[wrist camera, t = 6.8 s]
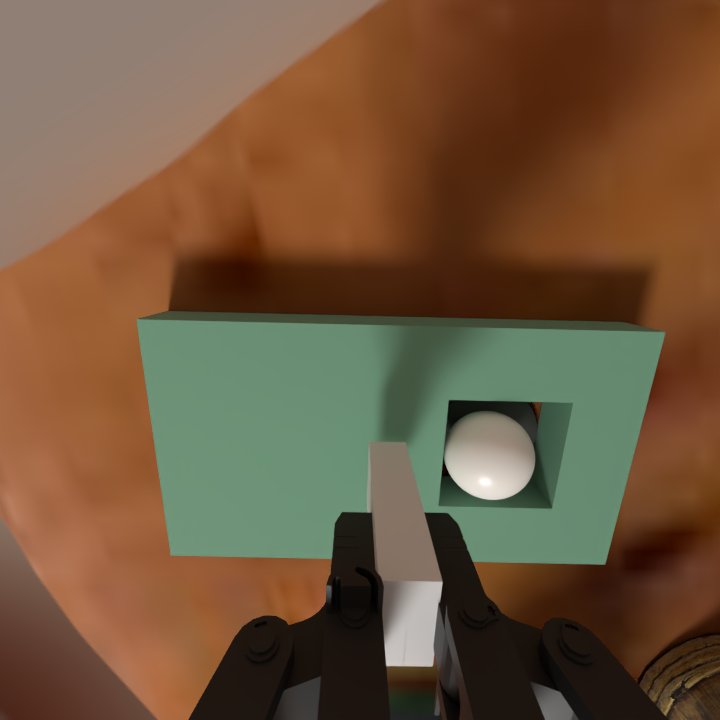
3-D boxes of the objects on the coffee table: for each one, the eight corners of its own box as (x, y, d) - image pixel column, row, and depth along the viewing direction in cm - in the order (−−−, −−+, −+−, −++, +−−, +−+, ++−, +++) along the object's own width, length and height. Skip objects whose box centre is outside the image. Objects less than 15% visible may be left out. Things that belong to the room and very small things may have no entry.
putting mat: (623, 321, 17) (665, 332, 15) (576, 529, 21) (605, 564, 18) (167, 310, 17) (136, 319, 15) (193, 520, 20) (170, 555, 18)
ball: (564, 428, 15) (486, 441, 14) (547, 508, 16) (474, 529, 15) (498, 394, 19) (431, 402, 17) (488, 462, 20) (424, 475, 18)
